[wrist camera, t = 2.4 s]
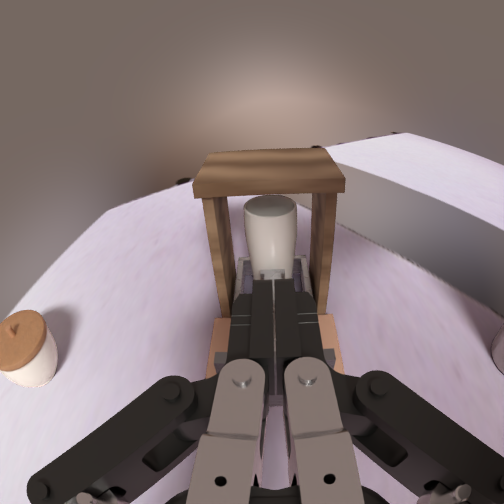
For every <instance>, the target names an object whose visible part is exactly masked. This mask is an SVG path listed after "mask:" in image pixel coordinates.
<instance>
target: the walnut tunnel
mask: <svg viewBox="0 0 504 504" xmlns="http://www.w3.org/2000/svg"><path fill="white" fill-rule="evenodd" d="M192 187H193V193H194V199H196V198H202V203H203V209H204V216H205V222H206V228H207V234H208V240H209V246H210V252H211V258H212V264H213V269H214V275H215V281H216V286H217V292H218V297H219V302H220V308H221V313H222V318H231V314H232V305H233V300H234V291H235V282H236V269H235V261H234V253H233V245H232V236H231V228H230V219H229V211H228V202H227V196H246V195H268V194H299V193H312V218H311V244H310V264H309V276H310V281H311V287H312V293H313V299H314V300H315V303H316V308H317V314H318V315H324V314H325V312H326V305H327V297H328V289H329V280H330V272H331V262H332V252H333V242H334V230H335V217H336V204H337V193H344V192H345V177H344V175H343V174H342V172H341V171H340V169H339V168H338V167H337V165H336V163H335V162H334V161H333V159H332V158H331V156H330V155H329V153H328V152H327V150H326V149H325V148H289V149H260V150H242V151H227V152H215V153H209V155H208V157H207V159H206V160H205V162H204V164H203V166H202V168H201V169H200V171H199V173H198V175H197V177H196V178H195V180H194V182H193V184H192Z"/></svg>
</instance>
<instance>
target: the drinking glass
mask: <svg viewBox="0 0 504 504" xmlns="http://www.w3.org/2000/svg"><path fill="white" fill-rule="evenodd" d="M244 226H245V235H246V241H247V247H248V252H249V257H250V262H251V267H252V273H253V278H254V280H261V277H260V270H270V269H285V279H292V273H293V264H294V256H295V248H296V238H297V205H296V203H295V202H294V201H293V200H292V199H290V198H288V197H285V196H281V195H262V196H258V197H255V198H252V199H250V200H249V201H247V202H246V203H245V205H244Z"/></svg>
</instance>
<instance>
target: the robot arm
mask: <svg viewBox="0 0 504 504" xmlns="http://www.w3.org/2000/svg"><path fill="white" fill-rule="evenodd" d="M274 289H275V330H276V372H277V395H283V421H284V430H285V439H286V448H287V457H288V475H289V486H290V487H288V488H284V489H280V490H270V489H265V488H261V482H262V467H263V454H264V445H265V435H266V425H267V415H268V412H269V395H275V374H274V322H273V285H272V279H266V280H253V290H252V294H239V295H238V297H237V298H236V300H235V301H234V303H233V305H232V314H231V323H230V332H229V341H228V350H227V359H226V363H225V365H224V367H223V368H222V369H221V371H220V372H218V373H217V374H216V375H214V376H212V377H210V378H207V379H204V380H200V381H196V382H192V383H190V382H189V381H188V380H187V379H186V378H184V377H181V376H167V377H164V378H162V379H160V380H159V381H157V382H156V383H155V384H154V385H152V386H151V387H150V388H149V389H147V390H146V391H145V392H144V393H142V394H141V395H140V396H138V397H137V398H136V399H135V400H133V401H132V402H131V403H130V404H128V405H127V406H126V407H124V408H123V409H122V410H121V411H119V412H118V413H117V414H115V415H114V416H113V417H111V418H110V419H109V420H108V421H106V422H105V423H104V424H102V425H101V426H100V427H98V428H97V429H96V430H94V431H93V432H92V433H90V434H89V435H88V436H86V437H85V438H84V439H82V440H81V441H80V442H78V443H77V444H76V445H74V446H73V447H72V448H70V449H69V450H67V451H66V452H65V453H63V454H62V455H61V456H59V457H58V458H56V459H55V460H54V461H52V462H51V463H49V464H48V465H47V466H45V467H44V468H42V469H41V470H40V471H38V472H37V473H35V474H34V475H33V476H31V478H30V479H29V481H28V483H27V496H28V499H29V501H30V502H31V504H130V503H131V502H132V501H134V500H135V499H136V498H138V497H139V496H140V495H141V494H143V493H144V492H145V491H147V490H148V489H149V488H150V487H152V486H153V485H154V484H155V483H157V482H158V481H159V480H160V479H161V478H163V477H164V476H165V475H166V474H167V473H169V472H170V471H171V470H172V469H173V468H175V467H176V466H177V465H178V464H179V463H180V462H182V461H183V460H184V459H185V458H186V457H187V456H188V455H190V454H191V453H192V452H193V451H194V450H195V449H196V448H197V447H198V449H197V454H196V458H195V463H194V468H193V472H192V477H191V482H190V486H189V489H188V490H185V491H183V492H181V493H179V494H177V495H176V496H174V497H173V498H171V499H170V500H169V501H167V502H166V503H165V504H389V503H388V502H387V501H386V500H385V499H384V498H382V497H381V496H380V495H379V494H378V493H376V492H374V491H373V490H371V489H369V488H367V487H364V486H361V483H360V477H359V473H358V468H357V463H356V458H355V453H354V449H353V444H354V445H355V446H356V447H357V448H358V449H359V450H361V451H362V452H363V453H364V454H365V455H367V456H368V457H369V458H370V459H371V460H373V461H374V462H375V463H376V464H377V465H379V466H380V467H381V468H382V469H383V470H385V471H386V472H387V473H388V474H390V475H391V476H392V477H393V478H395V479H396V480H397V481H398V482H400V483H401V484H402V485H403V486H405V487H406V488H407V489H409V490H410V491H411V492H412V493H414V494H415V495H416V496H418V497H419V499H418V501H417V504H504V457H502V456H501V455H500V454H498V453H497V452H495V451H494V450H493V449H491V448H490V447H488V446H487V445H486V444H484V443H483V442H482V441H480V440H479V439H477V438H476V437H475V436H473V435H472V434H471V433H469V432H468V431H466V430H465V429H464V428H462V427H461V426H460V425H458V424H457V423H455V422H454V421H453V420H451V419H450V418H449V417H447V416H446V415H445V414H443V413H442V412H441V411H439V410H438V409H436V408H435V407H434V406H432V405H431V404H430V403H428V402H427V401H426V400H424V399H423V398H422V397H420V396H419V395H418V394H416V393H415V392H414V391H412V390H411V389H410V388H408V387H407V386H406V385H404V384H403V383H401V382H400V381H399V380H397V379H396V378H395V377H393V376H392V375H391V374H389V373H387V372H384V371H379V370H377V371H370V372H367V373H365V374H364V375H363V376H361V377H354V376H349V375H344V374H341V373H338V372H336V371H335V370H333V369H332V368H331V367H330V366H329V365H328V364H327V362H326V360H325V357H324V352H323V345H322V339H321V333H320V326H319V320H318V314H317V308H316V303H315V300H314V299H313V298H312V296H311V295H310V294H309V292H295V286H294V279H293V278H292V279H274ZM491 351H492V357H493V360H494V362H495V364H496V366H497V367H498V369H499V370H500V371H501V372H502V373H503V374H504V324H503V326H502V327H501V329H500V331H499V332H498V334H497V335H496V337H495V339H494V340H493V343H492V347H491ZM352 443H353V444H352Z"/></svg>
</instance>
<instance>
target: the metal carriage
mask: <svg viewBox="0 0 504 504" xmlns="http://www.w3.org/2000/svg"><path fill="white" fill-rule="evenodd" d="M296 273H300V275H301V281H302V289H303V292H309V294H310V295H311V296H312V298H313V295H312V290H311V284H310V278H309V272H308V267H307V261H306V256H305V255H297V256H294V264H293V273H292V274H296ZM245 275H253V273H252V267H251V262H250V257H241V258H239V260H238V268H237V277H236V286H235V295H234V301H235V300H236V298H237V297H238V295H239V294H244V281H245ZM260 277H261V280H266V279H272V285H273V322H274V374H275V395H269V406H283V395H277V372H276V330H275V289H274V279H285V269H270V270H260ZM323 352H324V357H325V360H326V362H327V364H328V365H329V366H330V367H331V368H332V369H333V370H334V366H335V362H336V357H335V351H334V348H329V349H323ZM226 359H227V352H215V357H214V366H215V370H216V373H218V372H220V371H221V369H222V368H223V367H224V365H225V363H226Z"/></svg>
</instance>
